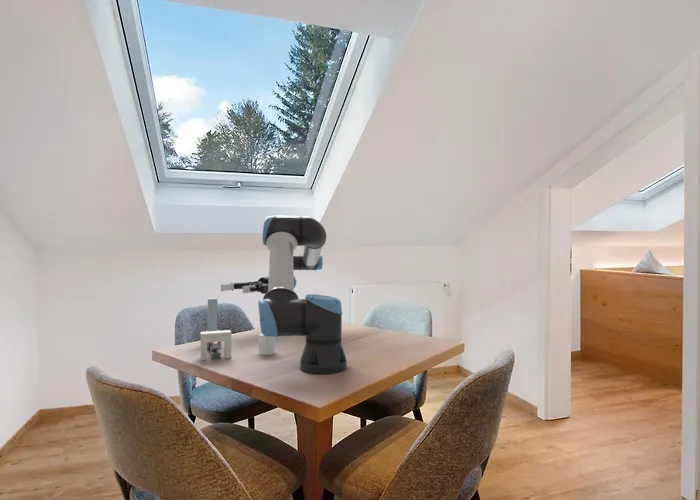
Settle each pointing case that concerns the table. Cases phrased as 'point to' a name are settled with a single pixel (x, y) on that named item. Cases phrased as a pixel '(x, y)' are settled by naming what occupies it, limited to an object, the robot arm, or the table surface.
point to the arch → (216, 337)
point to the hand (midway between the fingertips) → (231, 288)
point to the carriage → (212, 317)
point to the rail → (214, 353)
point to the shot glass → (266, 344)
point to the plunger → (215, 345)
